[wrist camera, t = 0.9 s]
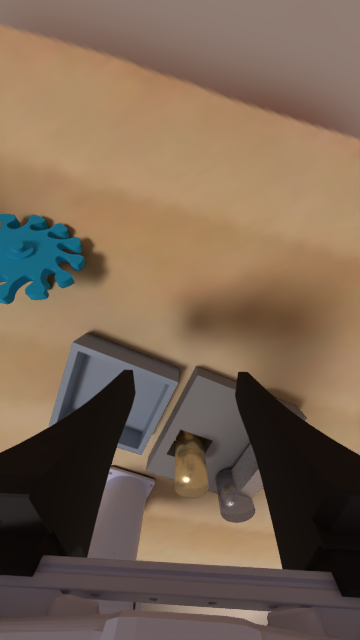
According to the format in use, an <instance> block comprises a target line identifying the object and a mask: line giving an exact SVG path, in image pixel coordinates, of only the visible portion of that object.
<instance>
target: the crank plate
mask: <svg viewBox="0 0 360 640" xmlns="http://www.w3.org/2000/svg"><path fill="white" fill-rule="evenodd" d="M236 385H237V382H234V381H232V380H229V379H227V378H224V377H222V376H219V375H217V374H214V373H212V372H209V371H206V370H204V369H201V368H199V367H196V368H195V369H194V371H193V373H192V375H191V377H190V379H189V381H188V383H187V385H186V387H185V388H184V390H183V392H182V394H181V396H180V398H179V400H178V402H177V404H176V406H175V407H174V409H173V411H172V413H171V415H170V417H169V419H168V421H167V423H166V424H165V426H164V428H163V430H162V432H161V434H160V436H159V438H158V440H157V442H156V443H155V445H154V447H153V449H152V451H151V453H150V455H149V457H148V462H147V468H146V471H147V472H150V473H153V474H156V475H159V476H163V477H166V478H169V479H172V480H174V475H175V443H173V442H174V440H175V438H176V436H177V435H178V433H179V431H180V429H181V430H183V431H186V432H189V433H192V434H195V435H198V436H201V437H204V440H203V446H204V454H205V461H206V469H207V476H208V484H209V488H208V491H211V492H214V493H217V487H216V481H215V479H216V476H217V475H218V474H219V473H220V472H222V471H224V470H227V469H233V467H234V466H235V464H236V463H237V462H238V460H239V459H240V458H241V456H242V455H243V454H244V452H245V451H246V449H247V448H248V447H249V445H250V444H251V443H250V440H249V438H248V435H247V432H246V430H245V427H244V424H243V421H242V419H241V416H240V413H239V410H238V406H237V402H236V398H235V391H236ZM276 399H277V398H276ZM277 400H278V401H280V402H281V403H282V404H283V405H284V406H286V407H287V408H288V409H289V410H291V411H292V412H293V413H295V414H296V415H297V416H299V417H300V418H301V419H303V420H304V421H305V420H306V418H307V417H306V416H305V415H304V414H303V413H302V412H301V411H300V409H299V408H298V407H297V406H295V405H292V404H290V403H287V402H285V401H282V400H280V399H277ZM217 494H218V493H217Z"/></svg>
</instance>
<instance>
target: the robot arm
mask: <svg viewBox="0 0 360 640" xmlns="http://www.w3.org/2000/svg"><path fill="white" fill-rule="evenodd" d="M135 394H136V390H135V383H134V375H133V370H123V371H122V372H121V373H120V374H119V375H118V376H117V377H115V378H114V379H113V380H112V381H111V382H110V383H109V384H108V385H107V386H105V387H104V388H103V389H102V390H101V391H100V392H99V393H97V394H96V395H95V396H94V397H92V398H91V399H90V400H89V401H87V402H86V403H85V404H84V405H82V406H81V407H79V408H78V409H77V410H75V411H74V412H72V413H71V414H69V415H68V416H66V417H65V418H63V419H62V420H60V421H58V422H57V423H55V424H54V425H52V426H50V427H49V428H47V429H45V430H43V431H42V432H40V433H38V434H36V435H35V436H33V437H31V438H29V439H27V440H25V441H23V442H21V443H20V444H18V445H16V446H13V447H11V448H9V449H7V450H5V451H3V452H1V453H0V640H360V455H358V454H357V453H355V452H353V451H351V450H350V449H348V448H346V447H345V446H343V445H341V444H339V443H338V442H336V441H334V440H333V439H331V438H330V437H328V436H326V435H325V434H323V433H322V432H320V431H319V430H317V429H316V428H314V427H313V426H311V425H310V424H308V423H307V422H305V421H304V420H303V419H301V418H300V417H299V416H297V415H296V414H295V413H293V412H292V411H291V410H289V409H288V408H287V407H286V406H284V405H283V404H282V403H281V402H280V401H278V400H277V399H276V398H275V397H274V396H273V395H272V394H270V393H269V392H268V391H267V390H266V389H265V388H264V387H263V386H262V385H261V384H260V383H259V382H258V381H256V380H255V379H254V378H253V377H252V376H251V375H250V374H249V373H248V372H238V378H237V385H236V391H235V398H236V402H237V406H238V410H239V413H240V416H241V419H242V421H243V424H244V427H245V430H246V432H247V435H248V438H249V440H250V443H251V446H252V448H253V452H254V455H255V458H256V461H257V465H258V469H259V472H260V476H261V480H262V483H263V487H264V491H265V495H266V499H267V503H268V507H269V511H270V515H271V519H272V523H273V528H274V532H275V537H276V541H277V545H278V550H279V554H280V559H281V564H282V568H283V569H269V568H252V567H235V566H218V565H201V564H184V563H168V562H151V561H136V558H137V552H138V545H139V539H140V532H141V526H142V519H143V513H144V506H145V501H146V499H147V497H148V495H149V494H150V492H151V490H152V489H153V487H154V485H155V480H154V479H151V478H148V477H145V476H142V475H138V474H135V473H132V472H129V471H125V470H122V469H119V468H116V467H111V464H112V461H113V457H114V454H115V451H116V448H117V445H118V442H119V440H120V437H121V435H122V432H123V429H124V427H125V424H126V422H127V419H128V417H129V414H130V412H131V409H132V406H133V402H134V398H135ZM143 603H154V604H169V605H184V606H198V607H213V608H227V609H243V610H257V611H272V612H269V613H268V616H267V620H268V624H267V626H264V625H259V624H255V623H252V622H250V621H248V620H245V619H242V618H235V617H229V616H218V615H203V614H189V613H174V612H160V611H159V612H158V611H145V610H143Z"/></svg>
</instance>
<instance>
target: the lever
mask: <svg viewBox="0 0 360 640" xmlns="http://www.w3.org/2000/svg"><path fill="white" fill-rule="evenodd" d="M215 481H216V487H217V493H218V499H219V505H220V511H221V515H222V517H223V518H224V519H225V520H227V521H229V522H235V523H238V522H244V521H247V520H249V519H250V518H252V517H253V515H254V514H255V508H254V504H253V501H252V498H253V496H254V495H255V494H256V493H257V492H258V490H259V489H260V488H261V487H262V486H263V483H262V480H261V476H260V472H259V469H258V465H257V461H256V458H255V455H254V452H253V448H252V446H251V444H250V445H249V447H248V448H247V449H246V451H245V452H244V454H243V455H242V456H241V458H240V459H239V460H238V462H237V463H236V464H235V466H234V467H233V469H227V470H224V471H222V472H220V473H219V474H218V475H217V476H216V479H215Z"/></svg>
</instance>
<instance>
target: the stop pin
mask: <svg viewBox="0 0 360 640" xmlns="http://www.w3.org/2000/svg"><path fill="white" fill-rule="evenodd" d="M208 488H209V484H208V476H207V469H206V461H205V454H204V446H203V438H202V437H201V436H198V435H195V434H192V433H189V432H186V431H183V430H181V429H180V431H179V433H178V435H177V436H176V442H175V475H174V489H175V491H176V492H177V493H178V494H179V495H181V496H183V497H186V498H197V497H200V496H202V495H204V494H205V493H206V492H207V490H208Z"/></svg>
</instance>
